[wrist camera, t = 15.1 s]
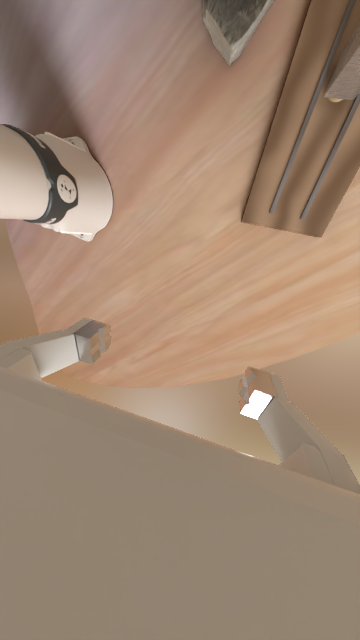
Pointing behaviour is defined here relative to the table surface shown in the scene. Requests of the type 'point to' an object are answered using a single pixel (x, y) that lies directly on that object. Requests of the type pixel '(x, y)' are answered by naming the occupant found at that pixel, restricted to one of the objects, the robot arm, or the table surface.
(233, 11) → the fossil
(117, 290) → the table surface
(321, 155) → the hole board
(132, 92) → the table surface
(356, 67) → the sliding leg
